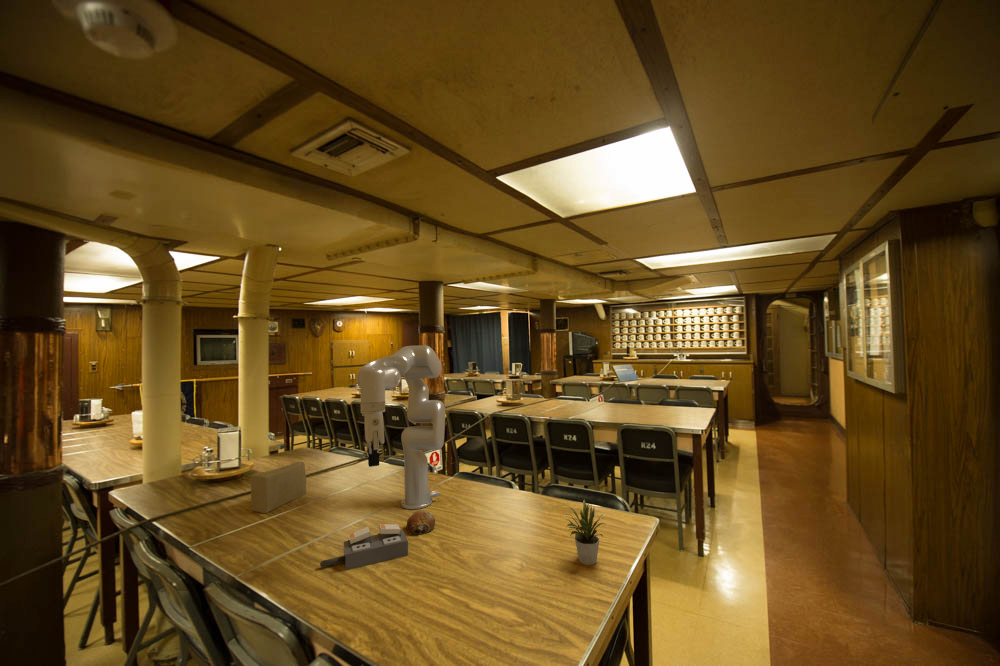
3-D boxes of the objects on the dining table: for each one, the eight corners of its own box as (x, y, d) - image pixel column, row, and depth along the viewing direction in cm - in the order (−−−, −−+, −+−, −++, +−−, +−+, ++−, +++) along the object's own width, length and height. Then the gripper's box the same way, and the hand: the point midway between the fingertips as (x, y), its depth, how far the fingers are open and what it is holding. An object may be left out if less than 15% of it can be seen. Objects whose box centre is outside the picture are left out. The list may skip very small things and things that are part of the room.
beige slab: (297, 492, 183) (297, 459, 183) (312, 495, 178) (312, 461, 179) (249, 510, 163) (249, 473, 163) (265, 514, 158) (265, 476, 159)
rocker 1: (369, 530, 127) (368, 526, 127) (370, 535, 123) (369, 531, 123) (349, 538, 125) (348, 534, 124) (350, 544, 121) (349, 539, 121)
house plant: (558, 546, 126) (557, 494, 127) (602, 545, 126) (601, 493, 127) (564, 571, 112) (562, 512, 113) (614, 571, 112) (612, 511, 112)
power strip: (402, 542, 132) (402, 527, 132) (408, 555, 123) (407, 538, 124) (319, 561, 121) (319, 544, 121) (320, 576, 113) (319, 558, 113)
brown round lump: (437, 537, 143) (441, 512, 146) (424, 536, 134) (429, 510, 138) (413, 533, 146) (418, 510, 150) (399, 532, 138) (404, 507, 141)
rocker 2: (397, 528, 131) (398, 524, 131) (399, 533, 127) (400, 528, 127) (378, 528, 128) (379, 523, 128) (380, 533, 125) (381, 528, 125)
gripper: (389, 409, 122) (389, 470, 121) (381, 403, 136) (382, 458, 135) (363, 411, 119) (364, 473, 118) (358, 405, 133) (359, 461, 132)
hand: (373, 465), depth 127 cm, fingers closed
